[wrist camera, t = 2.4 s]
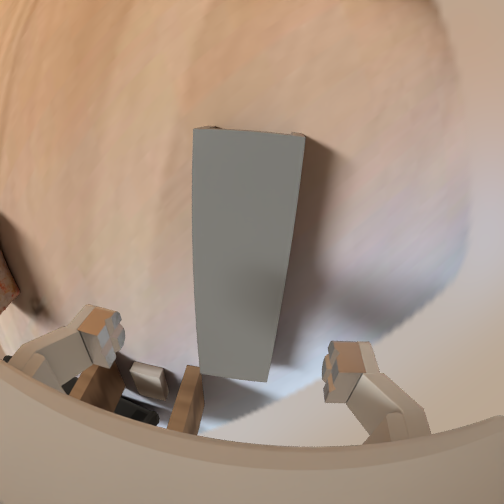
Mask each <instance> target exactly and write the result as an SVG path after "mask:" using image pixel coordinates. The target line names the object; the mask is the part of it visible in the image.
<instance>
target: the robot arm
mask: <svg viewBox="0 0 504 504" xmlns="http://www.w3.org/2000/svg"><path fill="white" fill-rule="evenodd" d="M121 320H122V319H121V316H120V313H119V312H117V311H113V310H109V309H105V308H102V307H97V306H93V305H90V304H88V305H85V306H84V307H83V308H82V310H81V311H80V312H79V313H78V314H77V315H76V317H75V318H74V319H73V320H72V321H71V323H70V324H69V325H68V326H67V327H65V326H64V327H61V328H59V329H57V330H55V331H52V332H50V333H48V334H46V335H43V336H41V337H39V338H36V339H34V340H32V341H30V342H27V343H25V344H23V345H22V346H21V347H20V348H19V349H18V350H17V352H16V353H15V354H14V355H13V357H12V358H11V359H10V360H9V362H8V363H6V362H5V361H3V360H2V359H0V504H504V416H501V415H499V416H494V417H491V418H489V419H486V420H483V421H480V422H476V423H473V424H470V425H467V426H463V427H460V428H456V429H452V430H448V431H445V432H440V433H436V434H431V431H430V428H429V424H428V422H427V418H426V415H425V412H424V409H423V408H422V407H421V406H420V405H419V404H418V403H417V402H415V401H414V400H413V399H412V398H411V397H410V396H409V395H408V394H407V393H405V392H404V391H403V390H402V389H401V388H400V387H399V386H398V385H396V384H395V383H394V382H393V381H392V380H391V379H390V378H388V377H387V376H386V375H385V374H384V373H380V371H379V368H378V365H377V362H376V359H375V355H374V352H373V349H372V346H371V343H370V342H358V341H357V342H353V341H331V342H330V344H329V347H328V352H329V354H328V355H326V356H325V358H324V361H323V366H322V380H323V381H324V382H325V383H326V384H325V386H324V388H323V390H324V399H325V403H346V405H347V406H348V408H349V409H350V410H351V411H352V413H353V414H354V415H355V416H356V418H357V419H358V420H359V422H360V423H361V424H362V426H363V427H364V428H365V429H366V431H367V432H368V433H369V435H370V436H369V437H368V439H367V440H366V441H365V442H364V443H363V444H362V445H351V446H330V447H298V446H275V445H261V444H251V443H242V442H234V441H227V440H220V439H214V438H208V437H203V436H197V435H192V434H187V433H183V432H178V431H174V430H169V429H165V428H161V427H158V426H154V425H150V424H146V423H143V422H140V421H136V420H133V419H130V418H127V417H124V416H121V415H118V414H115V413H112V412H109V411H106V410H103V409H101V408H98V407H95V406H93V405H90V404H88V403H85V402H83V401H81V400H78V399H76V398H73V397H71V396H69V395H67V394H66V393H65V391H64V390H63V388H62V387H61V386H62V385H63V384H65V383H66V382H68V381H69V380H71V379H72V378H74V377H75V376H77V375H78V374H80V373H81V372H83V371H84V370H86V369H87V368H88V367H90V366H91V365H93V364H95V365H99V366H102V367H105V368H109V369H110V367H111V365H112V364H113V362H114V360H115V359H116V354H115V352H117V351H119V350H121V348H122V346H123V345H124V340H125V331H124V328H123V327H122V325H121V324H120V321H121Z"/></svg>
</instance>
